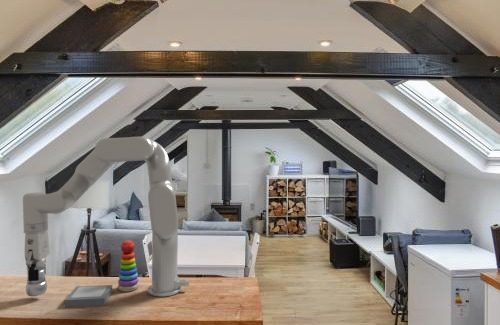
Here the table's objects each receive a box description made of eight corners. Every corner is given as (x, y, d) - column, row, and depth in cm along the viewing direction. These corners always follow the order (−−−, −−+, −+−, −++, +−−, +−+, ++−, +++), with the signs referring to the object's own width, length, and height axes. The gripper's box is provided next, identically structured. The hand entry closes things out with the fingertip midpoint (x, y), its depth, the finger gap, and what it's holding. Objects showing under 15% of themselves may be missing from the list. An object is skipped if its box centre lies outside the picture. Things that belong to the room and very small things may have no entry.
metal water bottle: (23, 295, 134) (21, 240, 132) (43, 289, 138) (41, 236, 137) (29, 300, 129) (27, 243, 128) (50, 294, 134) (48, 239, 133)
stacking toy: (141, 284, 149) (141, 238, 149) (135, 292, 141) (136, 243, 141) (121, 284, 149) (121, 238, 148) (114, 292, 141) (115, 243, 141)
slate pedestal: (112, 291, 142) (112, 284, 142) (104, 305, 129) (104, 297, 129) (76, 292, 140) (76, 285, 140) (64, 307, 127) (64, 299, 127)
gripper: (37, 232, 125) (38, 285, 126) (55, 222, 142) (57, 269, 142) (13, 233, 124) (14, 287, 124) (34, 223, 141) (35, 270, 141)
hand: (37, 277), depth 133 cm, fingers closed on metal water bottle, 5 cm apart
